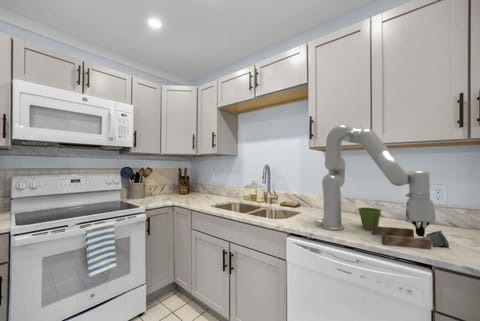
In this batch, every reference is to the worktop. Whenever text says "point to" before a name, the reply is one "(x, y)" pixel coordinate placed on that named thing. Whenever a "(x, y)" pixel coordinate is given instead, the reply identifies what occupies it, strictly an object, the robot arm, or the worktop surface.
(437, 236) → the grey irregular lump
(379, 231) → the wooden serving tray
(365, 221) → the plant pot
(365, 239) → the worktop surface
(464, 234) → the worktop surface
